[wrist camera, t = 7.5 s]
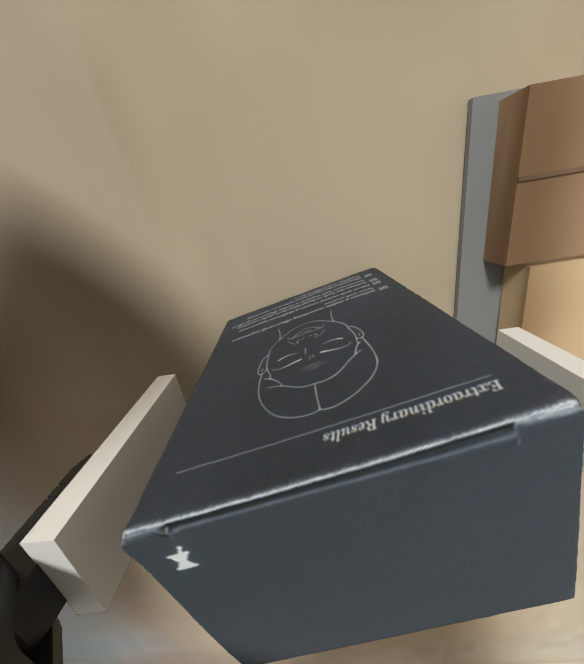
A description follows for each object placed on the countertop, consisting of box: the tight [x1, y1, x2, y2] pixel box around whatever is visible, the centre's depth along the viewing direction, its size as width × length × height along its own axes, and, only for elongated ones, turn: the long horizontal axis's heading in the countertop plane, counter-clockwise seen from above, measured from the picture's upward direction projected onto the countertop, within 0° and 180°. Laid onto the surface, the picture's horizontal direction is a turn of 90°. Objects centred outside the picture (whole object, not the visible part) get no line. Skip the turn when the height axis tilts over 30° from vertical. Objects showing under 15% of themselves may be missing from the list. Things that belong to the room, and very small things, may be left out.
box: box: [121, 268, 584, 664], centre depth 10 cm, size 8×6×11 cm
